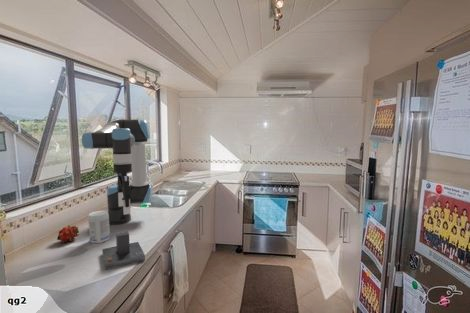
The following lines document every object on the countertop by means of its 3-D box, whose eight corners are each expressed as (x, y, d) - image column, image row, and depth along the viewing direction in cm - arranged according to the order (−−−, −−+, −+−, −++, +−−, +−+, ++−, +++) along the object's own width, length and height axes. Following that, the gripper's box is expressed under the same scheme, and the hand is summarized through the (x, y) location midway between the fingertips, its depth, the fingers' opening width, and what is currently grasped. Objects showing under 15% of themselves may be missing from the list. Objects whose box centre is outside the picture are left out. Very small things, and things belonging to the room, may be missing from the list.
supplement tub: (110, 235, 146) (108, 209, 144) (110, 241, 137) (108, 214, 136) (90, 238, 141) (88, 211, 140) (89, 245, 133) (87, 217, 131)
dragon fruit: (81, 238, 144) (60, 251, 134) (70, 229, 146) (49, 240, 135) (85, 228, 141) (65, 240, 130) (74, 218, 142) (53, 229, 131)
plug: (116, 256, 121) (115, 233, 120) (128, 254, 124) (127, 231, 123) (118, 260, 118) (117, 236, 117) (129, 257, 120) (129, 234, 119)
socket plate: (102, 254, 123) (102, 247, 123) (138, 246, 132) (137, 240, 131) (105, 269, 110) (105, 262, 109) (145, 260, 118) (144, 253, 118)
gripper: (137, 166, 108) (139, 216, 111) (126, 159, 129) (127, 201, 131) (117, 167, 104) (119, 219, 107) (109, 160, 125) (111, 204, 127)
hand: (124, 209), depth 119 cm, fingers open, 13 cm apart
